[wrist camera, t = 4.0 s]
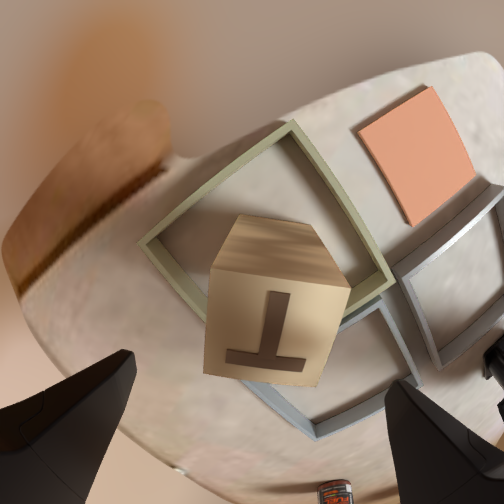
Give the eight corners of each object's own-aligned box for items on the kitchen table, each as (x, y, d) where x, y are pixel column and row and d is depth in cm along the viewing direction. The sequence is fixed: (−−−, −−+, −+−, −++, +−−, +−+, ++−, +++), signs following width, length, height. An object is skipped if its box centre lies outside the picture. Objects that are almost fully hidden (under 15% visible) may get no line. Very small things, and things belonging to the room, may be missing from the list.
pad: (472, 174, 16) (476, 175, 16) (410, 225, 18) (413, 227, 18) (428, 87, 15) (431, 86, 14) (356, 132, 16) (359, 131, 16)
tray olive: (386, 271, 19) (396, 281, 18) (252, 354, 22) (250, 369, 21) (290, 123, 17) (293, 118, 15) (147, 235, 20) (136, 243, 18)
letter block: (311, 225, 19) (352, 289, 9) (297, 290, 20) (316, 388, 11) (239, 213, 19) (209, 269, 9) (231, 280, 20) (202, 374, 11)
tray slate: (416, 373, 23) (423, 385, 21) (313, 428, 26) (314, 441, 24) (373, 286, 20) (382, 298, 18) (241, 364, 23) (239, 380, 21)
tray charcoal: (513, 287, 19) (523, 295, 17) (431, 360, 22) (438, 371, 20) (491, 183, 16) (505, 186, 14) (391, 267, 19) (401, 278, 17)
